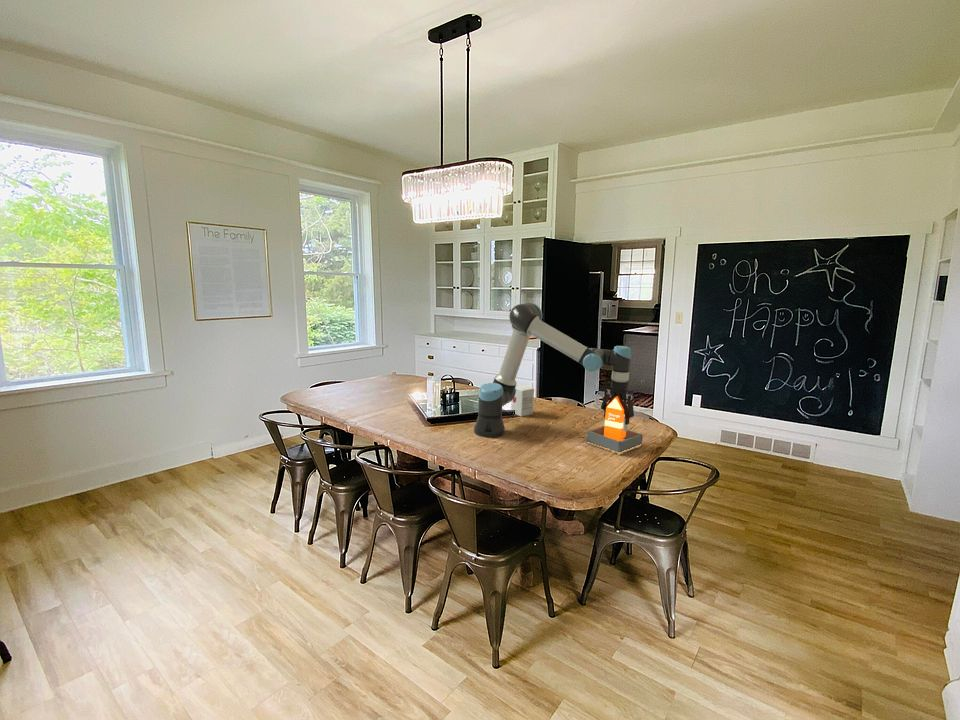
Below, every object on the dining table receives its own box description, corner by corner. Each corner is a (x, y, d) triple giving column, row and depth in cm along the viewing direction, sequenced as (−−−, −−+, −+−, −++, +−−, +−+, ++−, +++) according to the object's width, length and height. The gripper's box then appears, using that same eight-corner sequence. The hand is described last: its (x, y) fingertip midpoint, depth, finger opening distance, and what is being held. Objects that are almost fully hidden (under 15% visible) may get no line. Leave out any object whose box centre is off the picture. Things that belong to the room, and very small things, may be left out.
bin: (619, 455, 199) (620, 442, 197) (586, 443, 212) (587, 430, 211) (641, 446, 210) (642, 434, 208) (609, 435, 223) (610, 424, 222)
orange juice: (625, 436, 211) (629, 394, 208) (620, 441, 204) (624, 398, 201) (609, 432, 216) (613, 391, 212) (603, 437, 209) (606, 395, 205)
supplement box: (510, 412, 255) (511, 386, 252) (522, 410, 260) (523, 384, 257) (521, 416, 248) (522, 390, 245) (533, 414, 253) (534, 388, 250)
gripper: (645, 384, 199) (640, 432, 203) (604, 374, 215) (600, 420, 220) (636, 386, 194) (631, 436, 199) (595, 376, 211) (591, 423, 215)
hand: (615, 427), depth 209 cm, fingers closed on orange juice, 9 cm apart
